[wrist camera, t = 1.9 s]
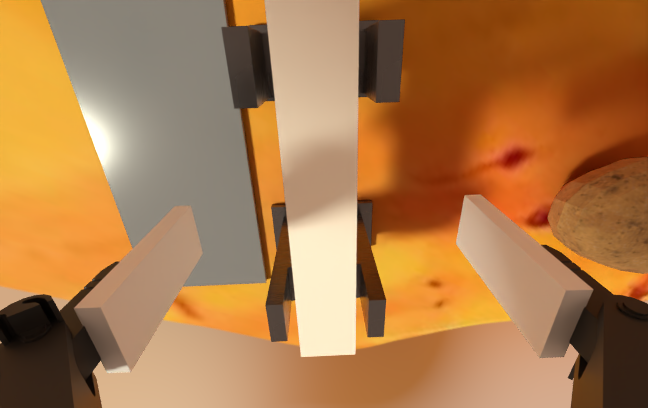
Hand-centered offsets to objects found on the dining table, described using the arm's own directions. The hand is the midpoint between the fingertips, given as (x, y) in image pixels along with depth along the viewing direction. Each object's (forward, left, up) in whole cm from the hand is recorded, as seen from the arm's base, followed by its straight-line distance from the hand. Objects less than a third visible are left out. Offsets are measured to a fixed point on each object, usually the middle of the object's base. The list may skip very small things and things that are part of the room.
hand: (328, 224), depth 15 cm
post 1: (0, +7, -12) cm, 14 cm away
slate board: (-12, 0, -12) cm, 17 cm away
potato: (+25, -5, -12) cm, 28 cm away
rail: (0, 0, -4) cm, 4 cm away
